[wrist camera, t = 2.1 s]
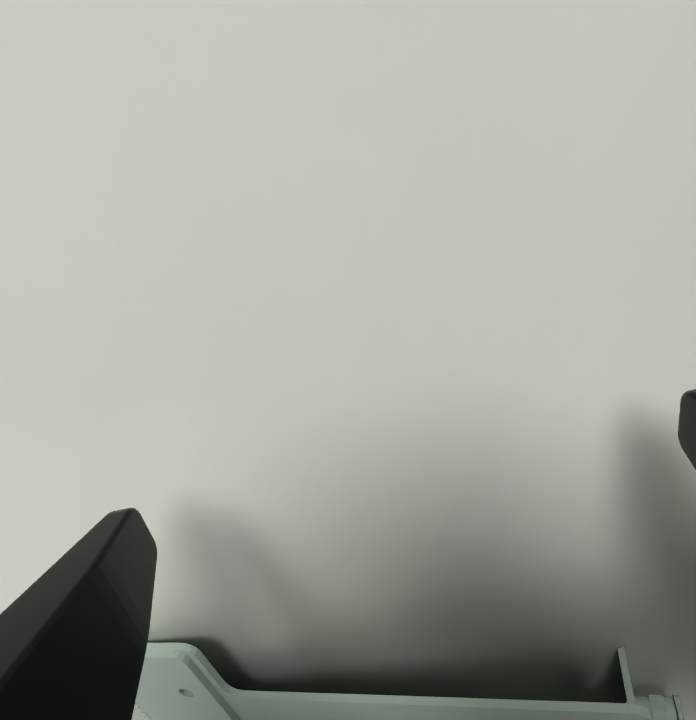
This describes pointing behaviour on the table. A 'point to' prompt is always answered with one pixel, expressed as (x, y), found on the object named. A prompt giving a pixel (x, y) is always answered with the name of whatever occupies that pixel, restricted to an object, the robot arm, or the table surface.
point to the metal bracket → (352, 699)
